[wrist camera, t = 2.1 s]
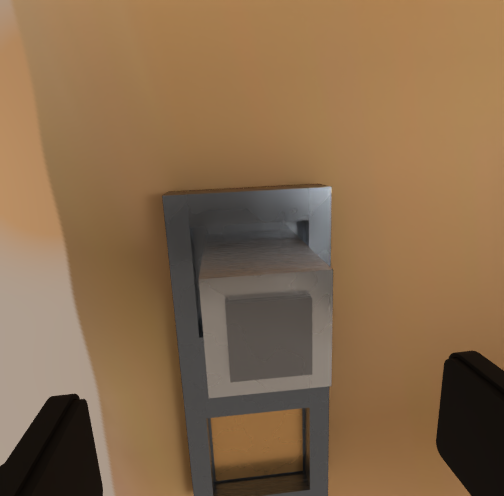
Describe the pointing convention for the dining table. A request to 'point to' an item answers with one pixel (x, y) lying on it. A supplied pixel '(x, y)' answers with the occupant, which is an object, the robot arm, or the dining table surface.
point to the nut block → (265, 313)
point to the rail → (194, 364)
